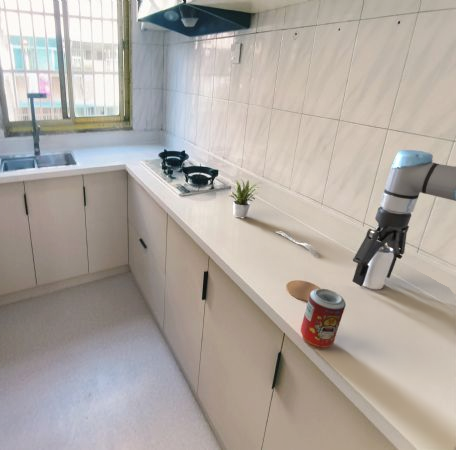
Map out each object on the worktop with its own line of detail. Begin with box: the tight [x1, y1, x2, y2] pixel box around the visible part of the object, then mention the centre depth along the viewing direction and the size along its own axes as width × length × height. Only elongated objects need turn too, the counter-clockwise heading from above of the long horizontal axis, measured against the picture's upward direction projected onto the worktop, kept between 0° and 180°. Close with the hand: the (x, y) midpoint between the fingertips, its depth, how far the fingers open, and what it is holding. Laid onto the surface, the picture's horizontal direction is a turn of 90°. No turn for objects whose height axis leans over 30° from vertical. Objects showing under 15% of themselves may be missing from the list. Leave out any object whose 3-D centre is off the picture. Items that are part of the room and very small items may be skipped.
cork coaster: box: [285, 279, 322, 303], centre depth 95 cm, size 10×10×1 cm
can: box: [362, 244, 394, 291], centre depth 97 cm, size 6×6×12 cm
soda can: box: [300, 288, 347, 350], centre depth 74 cm, size 7×7×12 cm
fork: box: [275, 230, 320, 258], centre depth 122 cm, size 3×21×3 cm, turn 20°
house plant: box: [227, 178, 262, 218], centre depth 141 cm, size 14×14×16 cm
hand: (371, 279), depth 99 cm, fingers open, 11 cm apart
